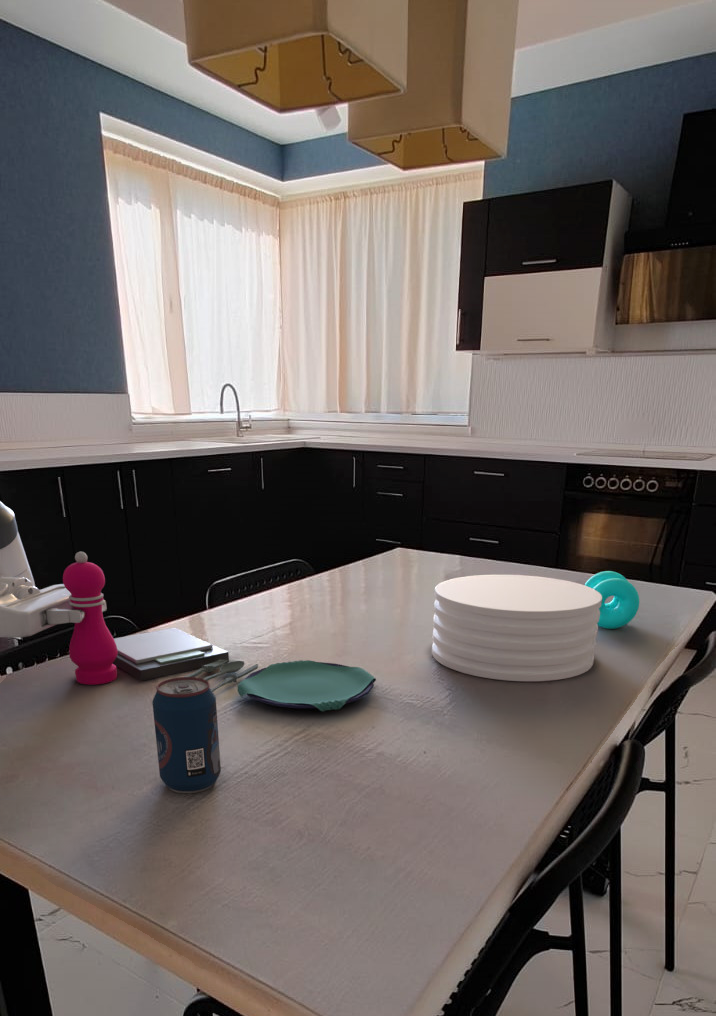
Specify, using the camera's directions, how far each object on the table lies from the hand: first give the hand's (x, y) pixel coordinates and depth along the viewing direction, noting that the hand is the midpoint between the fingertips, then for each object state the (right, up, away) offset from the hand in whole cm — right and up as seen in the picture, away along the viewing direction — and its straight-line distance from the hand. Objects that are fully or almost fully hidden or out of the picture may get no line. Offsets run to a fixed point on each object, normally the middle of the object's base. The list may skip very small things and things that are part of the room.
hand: (93, 611), depth 118 cm
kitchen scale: (+7, -6, +15) cm, 17 cm away
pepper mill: (-1, -10, +5) cm, 11 cm away
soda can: (+21, -25, -29) cm, 43 cm away
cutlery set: (+29, -12, +1) cm, 31 cm away
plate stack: (+68, -5, +18) cm, 70 cm away
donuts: (+91, +3, +38) cm, 99 cm away
